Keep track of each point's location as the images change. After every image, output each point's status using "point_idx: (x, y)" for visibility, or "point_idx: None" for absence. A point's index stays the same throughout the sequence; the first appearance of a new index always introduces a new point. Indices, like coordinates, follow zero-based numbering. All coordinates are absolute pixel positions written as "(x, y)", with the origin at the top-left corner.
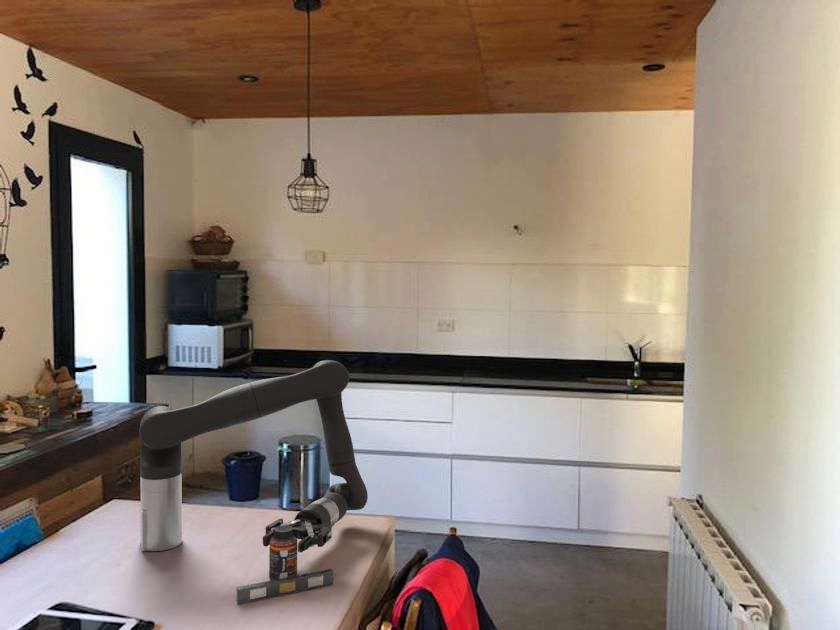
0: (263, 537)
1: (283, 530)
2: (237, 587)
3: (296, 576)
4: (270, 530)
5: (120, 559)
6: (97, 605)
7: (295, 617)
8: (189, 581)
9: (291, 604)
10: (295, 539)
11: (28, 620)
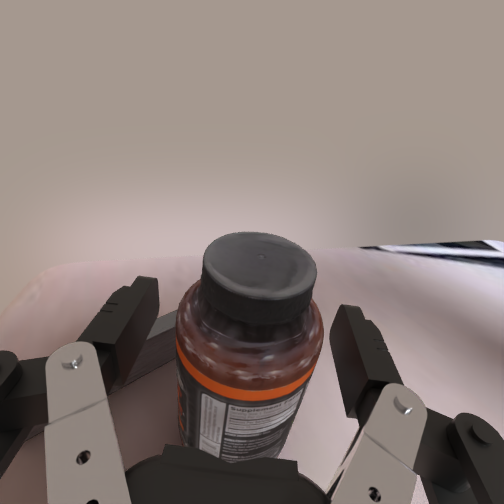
0: (366, 320)
1: (245, 237)
2: None
3: (159, 327)
4: (428, 420)
5: None
6: (474, 267)
7: (142, 268)
8: (464, 352)
9: (161, 302)
10: (183, 308)
11: (487, 242)
